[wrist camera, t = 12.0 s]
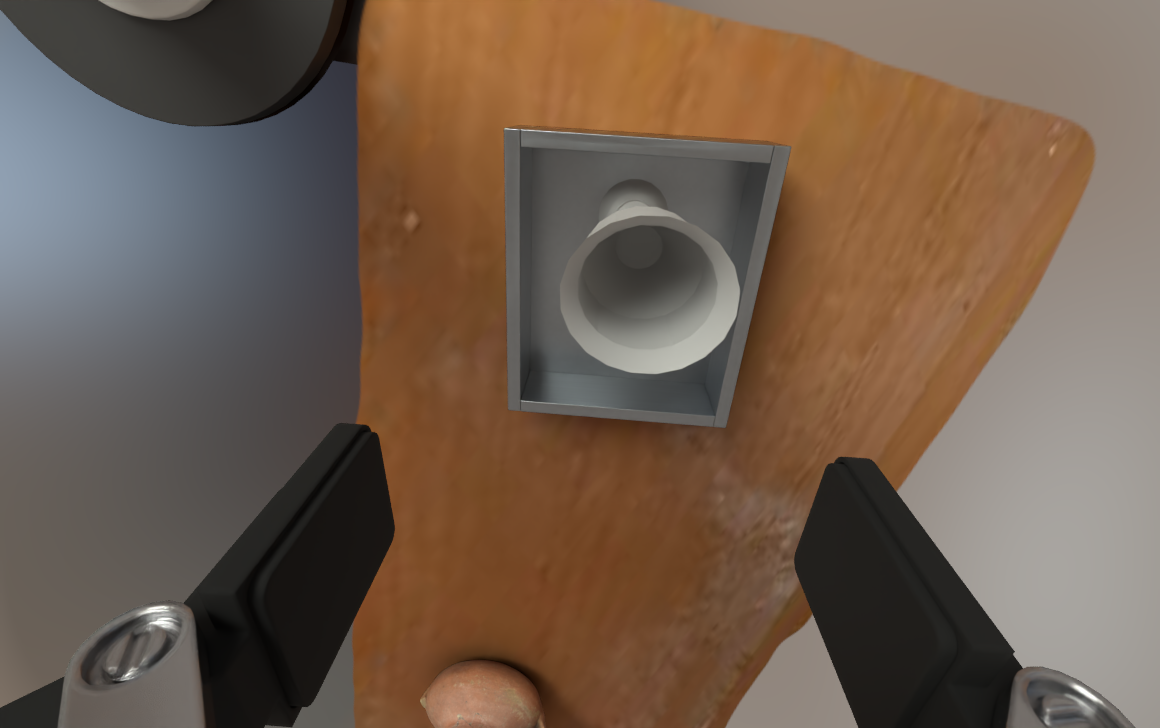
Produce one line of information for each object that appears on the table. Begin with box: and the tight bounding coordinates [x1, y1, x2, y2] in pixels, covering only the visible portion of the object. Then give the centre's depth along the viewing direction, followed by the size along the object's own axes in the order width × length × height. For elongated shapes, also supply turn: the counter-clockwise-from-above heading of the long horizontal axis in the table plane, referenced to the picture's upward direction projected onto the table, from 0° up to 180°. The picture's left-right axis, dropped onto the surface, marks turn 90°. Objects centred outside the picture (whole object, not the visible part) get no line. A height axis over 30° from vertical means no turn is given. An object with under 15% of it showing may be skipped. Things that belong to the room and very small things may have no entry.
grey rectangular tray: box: [504, 125, 791, 428], centre depth 36 cm, size 17×20×5 cm
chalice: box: [560, 179, 740, 374], centre depth 28 cm, size 7×7×18 cm
